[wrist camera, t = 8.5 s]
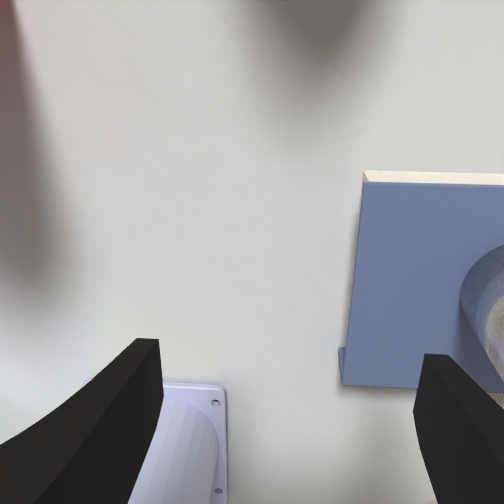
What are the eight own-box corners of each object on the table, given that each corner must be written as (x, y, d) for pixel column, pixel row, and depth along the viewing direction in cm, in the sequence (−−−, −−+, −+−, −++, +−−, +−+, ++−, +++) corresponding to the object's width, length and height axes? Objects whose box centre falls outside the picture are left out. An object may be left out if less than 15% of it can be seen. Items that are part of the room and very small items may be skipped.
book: (608, 359, 25) (647, 400, 22) (337, 347, 26) (342, 384, 23) (682, 172, 21) (741, 193, 18) (355, 164, 22) (364, 184, 19)
